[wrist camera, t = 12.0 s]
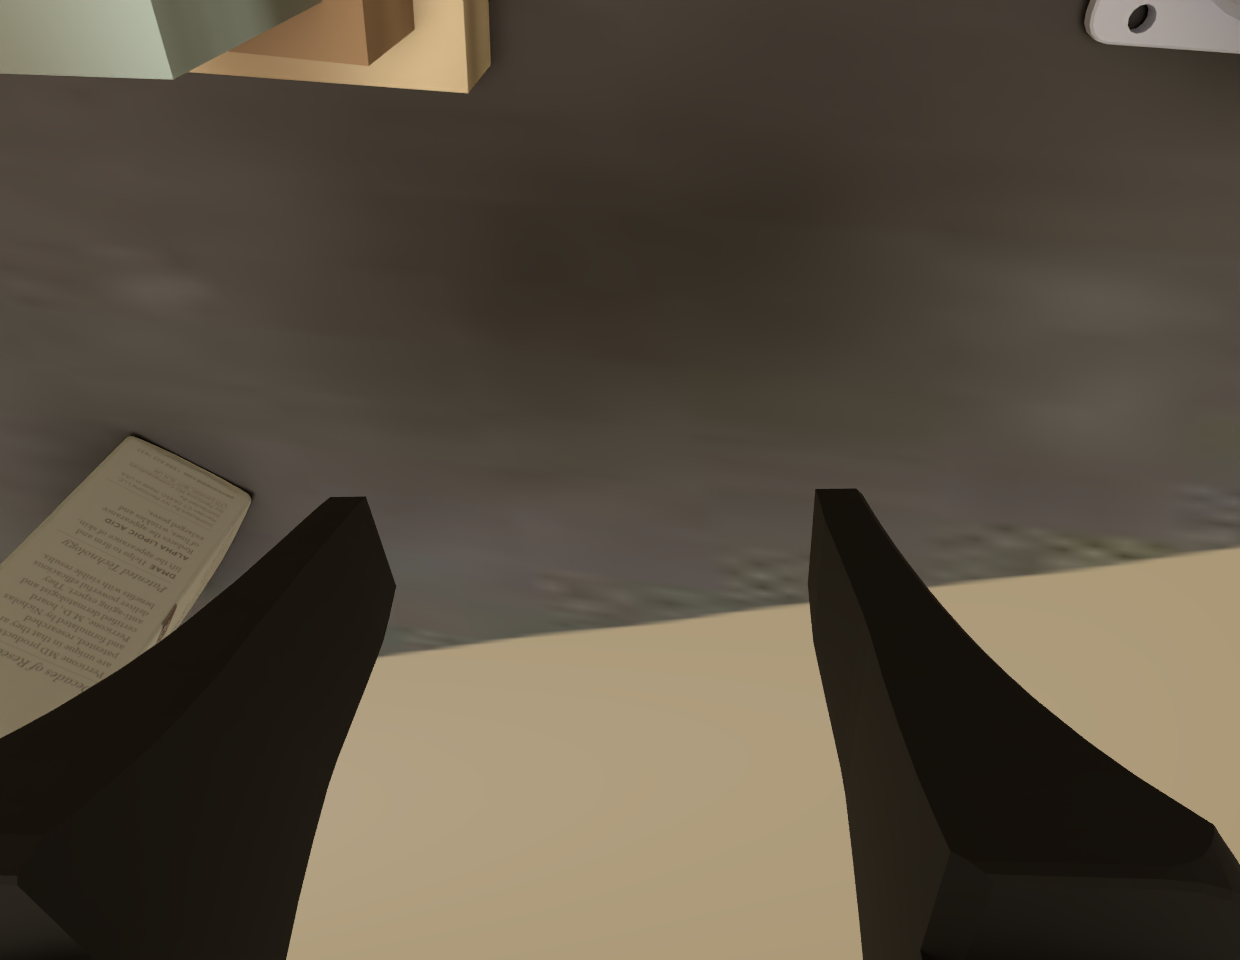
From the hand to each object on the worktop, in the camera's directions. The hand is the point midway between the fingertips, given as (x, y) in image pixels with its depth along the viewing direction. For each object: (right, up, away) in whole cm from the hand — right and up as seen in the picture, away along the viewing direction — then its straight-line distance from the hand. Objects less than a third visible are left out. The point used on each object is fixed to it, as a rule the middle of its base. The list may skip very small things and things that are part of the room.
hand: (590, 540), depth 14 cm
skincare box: (-15, 0, +15) cm, 21 cm away
